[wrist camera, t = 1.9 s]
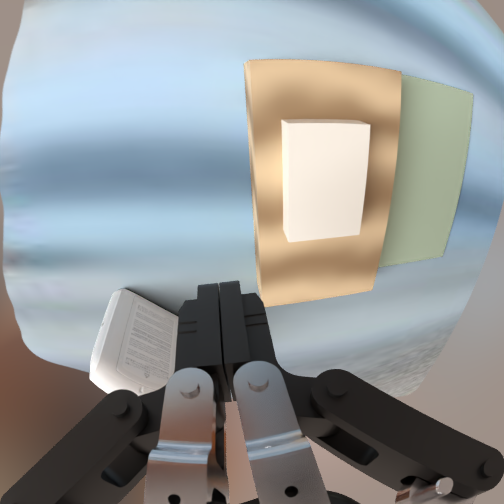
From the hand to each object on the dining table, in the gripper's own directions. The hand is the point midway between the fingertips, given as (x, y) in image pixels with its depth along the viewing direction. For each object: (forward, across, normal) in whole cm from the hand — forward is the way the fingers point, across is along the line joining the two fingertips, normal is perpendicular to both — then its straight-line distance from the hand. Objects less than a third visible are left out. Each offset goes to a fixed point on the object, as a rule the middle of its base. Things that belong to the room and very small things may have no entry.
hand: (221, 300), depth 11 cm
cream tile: (+12, -8, 0) cm, 15 cm away
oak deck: (+16, -9, +2) cm, 19 cm away
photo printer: (+17, +10, +16) cm, 25 cm away
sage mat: (+16, -22, +2) cm, 28 cm away
